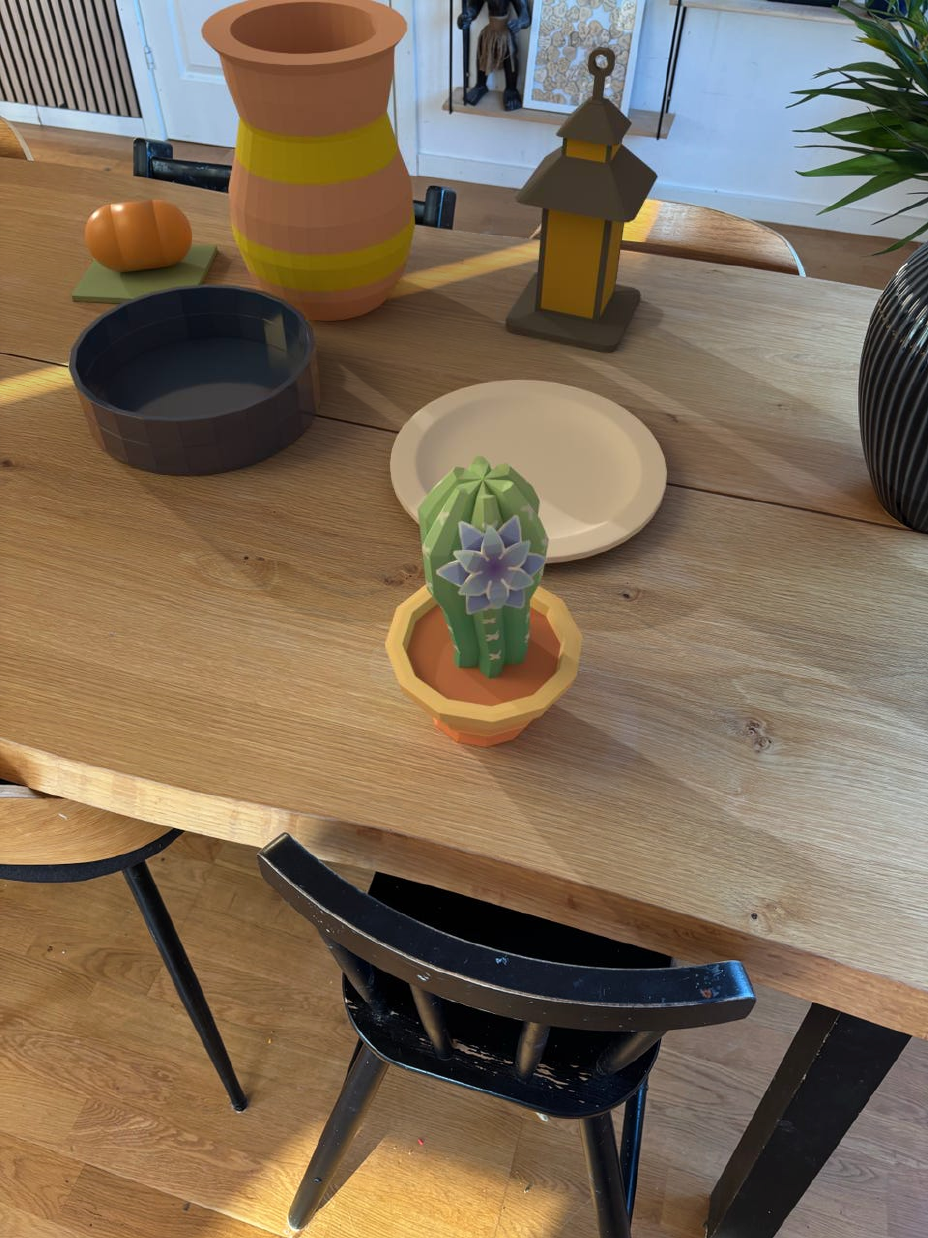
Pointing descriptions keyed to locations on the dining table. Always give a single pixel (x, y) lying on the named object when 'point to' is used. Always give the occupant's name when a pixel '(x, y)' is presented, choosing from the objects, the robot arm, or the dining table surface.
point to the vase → (316, 151)
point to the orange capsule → (138, 235)
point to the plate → (541, 458)
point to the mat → (143, 278)
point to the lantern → (583, 227)
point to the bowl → (197, 378)
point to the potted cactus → (483, 611)
